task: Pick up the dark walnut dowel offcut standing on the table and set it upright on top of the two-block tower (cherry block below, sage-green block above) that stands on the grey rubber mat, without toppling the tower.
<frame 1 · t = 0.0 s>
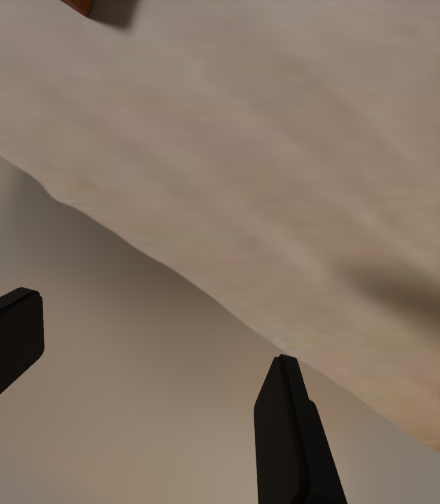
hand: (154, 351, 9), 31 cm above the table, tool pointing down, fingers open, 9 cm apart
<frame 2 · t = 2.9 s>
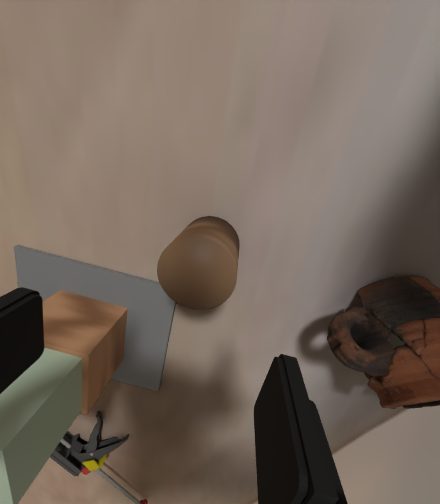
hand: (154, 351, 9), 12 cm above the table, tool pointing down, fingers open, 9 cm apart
pottery mug: (376, 319, 21), on the table
dowel: (210, 244, 20), on the table
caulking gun: (72, 408, 31), on the table
mat: (95, 324, 24), on the table
tower base: (93, 326, 24), resting on mat, touching tower mid
tower mid: (46, 375, 18), point 6 cm above the table, touching tower base
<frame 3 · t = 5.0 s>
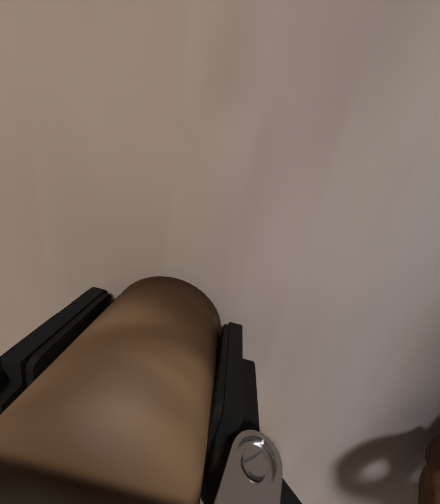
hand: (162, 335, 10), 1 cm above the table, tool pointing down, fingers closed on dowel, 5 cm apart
dowel: (166, 325, 10), on the table, touching gripper
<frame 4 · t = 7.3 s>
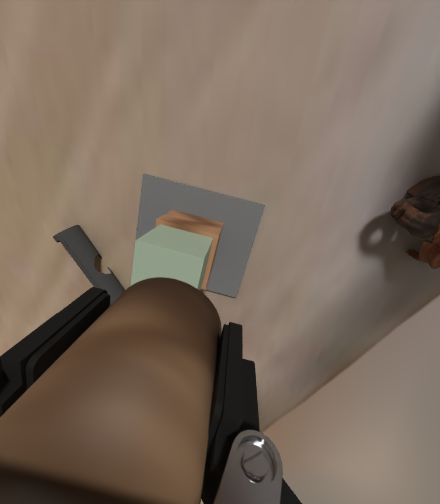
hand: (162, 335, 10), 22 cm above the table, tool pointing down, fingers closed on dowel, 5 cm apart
pottery mug: (419, 215, 28), on the table
dowel: (167, 326, 10), point 22 cm above the table, touching gripper
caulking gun: (155, 318, 38), on the table
mat: (193, 239, 32), on the table
tower base: (193, 240, 31), resting on mat, touching tower mid
tower mid: (182, 256, 26), point 6 cm above the table, touching tower base
when the fingers open (14 cm above the table, at t = 10.1 s): dowel drops 1 cm, resting on tower mid.
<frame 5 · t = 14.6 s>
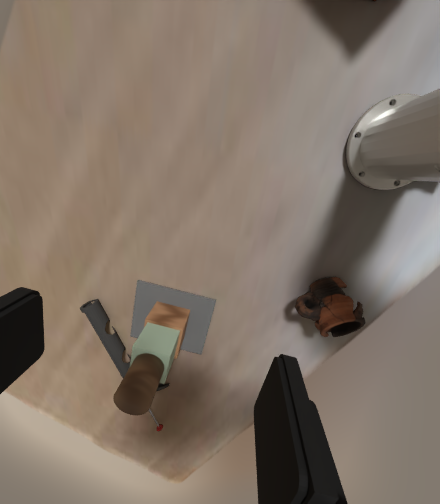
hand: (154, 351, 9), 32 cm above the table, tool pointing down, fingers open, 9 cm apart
pottery mug: (321, 298, 43), on the table
dowel: (148, 365, 36), point 12 cm above the table, touching tower mid
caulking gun: (140, 363, 53), on the table
mat: (171, 318, 48), on the table
tower base: (170, 319, 47), resting on mat, touching tower mid
tower mid: (161, 339, 41), point 6 cm above the table, touching dowel, tower base
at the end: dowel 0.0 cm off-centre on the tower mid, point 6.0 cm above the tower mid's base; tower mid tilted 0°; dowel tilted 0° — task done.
